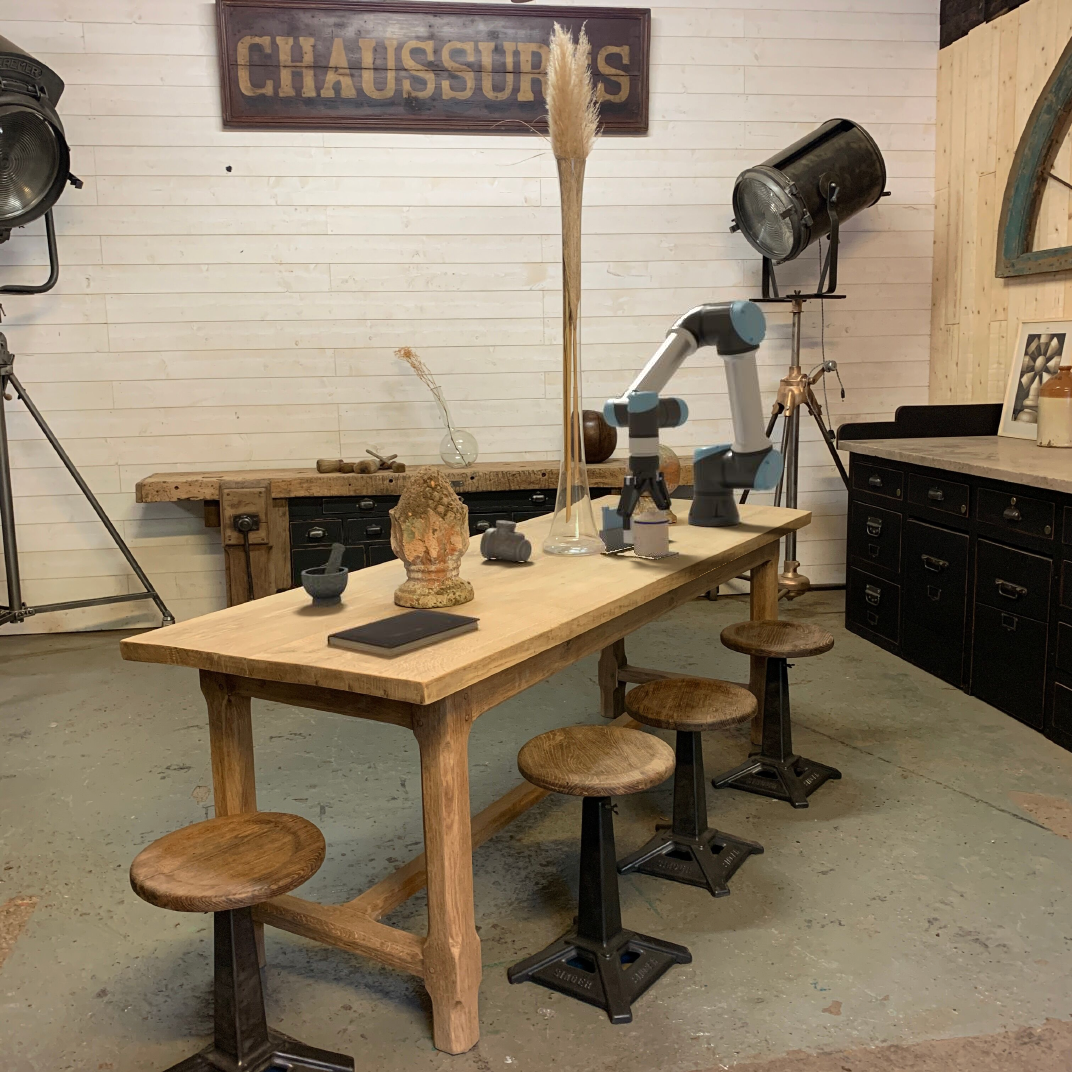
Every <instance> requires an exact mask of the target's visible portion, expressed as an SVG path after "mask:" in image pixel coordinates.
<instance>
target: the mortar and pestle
mask: <svg viewBox="0 0 1072 1072" xmlns="http://www.w3.org/2000/svg"><path fill="white" fill-rule="evenodd" d="M331 549H332V550H331V553H330V556H329V559H328V561H327V565H326V566H323V567H322V566H320V567H313V568H312V567H311V568H309V569H305V570H302V571H301V573H300V575H301V582H302V587H303V589H304V590H305V592H306V594H307V595H308V596H309V597H311V598H312V600H311V604H312V606H314V607H318V608H319V607H325V608H326V607H327V608H328V607H332V606H337V605H340V604H342V596H341V595H342V594H343V593H344V592H345V590H346V588H347V586H348V582H349V581H348V580H349V568H348V567H343V566H341V564H342V560H343V559H342V558H343V554H344V552H345V551H346V546H345V545H343V544H341V543H333V544H332V545H331Z"/></svg>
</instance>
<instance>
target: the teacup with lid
mask: <svg viewBox="0 0 1072 1072" xmlns="http://www.w3.org/2000/svg"><path fill="white" fill-rule="evenodd" d="M655 510H656V508H655V507H652V506H651V507H647V508H646V511H644V512H642V513H641V514H639V515H637V516H633V517H634V548H633V549H634V553H635V554H636V555H638V556H645V557H656V556H664V555H667V554H668V553H669V551H670V549H669V546H670V544H669V543H670V540H669V539H670V538H669V536H670V535H669V527H670V526H669V523H670V519H669V517H668V516H667V515H666V516H664V515H662V514H660V513H659V512H655Z"/></svg>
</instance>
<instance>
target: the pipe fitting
mask: <svg viewBox="0 0 1072 1072" xmlns="http://www.w3.org/2000/svg"><path fill="white" fill-rule="evenodd" d="M495 522H496V523H495V526H496V527H490V528H487V529H486V530H485V532H483V534H482V536H481V540H480V544H479V545H480V546H479V547H480V548H479V549H480V550H479V551H480V554H481V556H482V557H483V558H484V559H485V558H487V559H486V560H489V559H491V558H498V559H499V558H500V559H504V560H508V561H511V560H513V561H512V562H515V561H526V560H527V561H528V560H529V559H530V557H531V555H532V547H533V546H532V543H531V541H530V540H529V539H527V538H526V536H525V534H524V533H523V532H517V531H515V530H516V527H517V523H516V522H514V521H512V520H511V521H509V520H500V519H499V520H496V521H495ZM527 561H526V562H527Z"/></svg>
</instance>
